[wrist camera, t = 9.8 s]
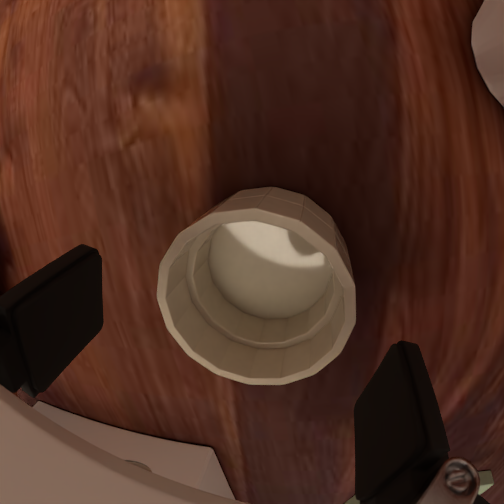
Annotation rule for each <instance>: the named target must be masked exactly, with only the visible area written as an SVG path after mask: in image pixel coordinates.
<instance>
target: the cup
mask: <svg viewBox="0 0 504 504" xmlns="http://www.w3.org/2000/svg"><path fill="white" fill-rule="evenodd" d="M471 47H472V51H473V54H474V58H475V63H476V67H477V69H478V71H479V73H480V75H481V77H482V79H483V80H484V82H485V84H486V86H487V88H488V90H489V91H490V93H491V94H492V95H493V96H494V97H495V98H496V99H497V100H498V102H499V103H500V104H501V105H502V106H503V107H504V0H484V2H483V4H482V6H481V8H480V9H479V11H478V13H477V15H476V17H475V19H474V20H473V22H472V39H471Z"/></svg>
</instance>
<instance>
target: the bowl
mask: <svg viewBox="0 0 504 504" xmlns="http://www.w3.org/2000/svg"><path fill="white" fill-rule="evenodd" d="M157 300H158V303H159V306H160V309H161V312H162V315H163V319H164V322H165V325H166V327H167V329H168V331H169V332H170V333H171V335H172V336H173V337H174V338H175V340H176V341H177V342H178V344H179V345H180V346H181V347H182V349H183V350H184V351H185V352H186V354H187V355H188V356H190V357H191V358H193V359H194V360H195V361H197V362H198V363H200V364H201V365H203V366H204V367H206V368H207V369H209V370H210V371H212V372H213V373H215V374H217V375H220V376H223V377H226V378H229V379H232V380H235V381H238V382H242V383H245V384H249V385H284V384H288V383H291V382H294V381H297V380H300V379H303V378H306V377H309V376H312V375H314V374H316V373H317V372H319V371H320V370H321V369H322V368H324V367H325V366H326V365H327V364H329V363H330V362H331V361H332V360H333V359H335V358H336V357H337V356H338V355H339V354H340V353H341V352H342V350H343V348H344V346H345V344H346V342H347V340H348V338H349V336H350V334H351V332H352V330H353V328H354V325H355V322H356V288H355V282H354V277H353V273H352V268H351V263H350V259H349V254H348V250H347V245H346V243H345V241H344V239H343V237H342V235H341V233H340V231H339V229H338V227H337V225H336V223H335V222H334V220H333V218H332V217H331V215H329V214H328V213H327V212H326V211H324V210H323V209H322V208H321V207H319V206H318V205H317V204H316V203H314V202H313V201H312V200H311V199H309V198H308V197H307V196H304V195H302V194H299V193H295V192H292V191H288V190H285V189H281V188H277V187H263V188H255V189H248V190H242V191H238V192H237V193H235V194H233V195H232V196H230V197H228V198H227V199H225V200H224V201H222V202H220V203H219V204H217V205H215V206H214V207H213V208H211V209H210V210H209V211H207V212H206V213H205V214H203V215H202V216H201V217H199V218H198V219H197V220H195V221H194V222H193V223H191V224H190V225H189V226H188V227H186V228H185V229H184V230H182V231H181V232H180V233H179V234H178V235H177V236H176V238H175V239H174V241H173V243H172V244H171V246H170V247H169V249H168V251H167V252H166V254H165V256H164V257H163V259H162V261H161V262H160V266H159V276H158V287H157Z"/></svg>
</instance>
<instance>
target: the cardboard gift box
mask: <svg viewBox="0 0 504 504" xmlns="http://www.w3.org/2000/svg"><path fill="white" fill-rule="evenodd" d="M32 408H34V409H35V410H37V411H38V412H39V413H41V414H42V415H44V416H46V417H47V418H49V419H50V420H52V421H53V422H55V423H56V424H58V425H60V426H61V427H63V428H65V429H66V430H68V431H70V432H71V433H73V434H75V435H77V436H78V437H80V438H82V439H84V440H86V441H87V442H89V443H91V444H93V445H95V446H97V447H99V448H100V449H102V450H104V451H106V452H108V453H110V454H112V455H114V456H116V457H119V458H121V459H123V460H125V461H127V462H129V463H131V464H134V465H136V466H138V467H140V468H143V469H145V470H148V471H150V472H152V473H155V474H157V475H160V476H162V477H165V478H168V479H170V480H173V481H176V482H178V483H181V484H184V485H187V486H190V487H193V488H196V489H199V490H202V491H205V492H209V493H212V494H215V495H219V496H222V497H226V498H230V499H233V500H235V498H234V496H233V493H232V491H231V489H230V487H229V485H228V482H227V480H226V478H225V476H224V473H223V471H222V469H221V467H220V464H219V462H218V460H217V457H216V455H215V452H214V450H213V449H212V448H211V447H205V446H199V445H193V444H187V443H181V442H176V441H171V440H166V439H161V438H157V437H152V436H148V435H143V434H139V433H135V432H131V431H128V430H124V429H120V428H117V427H113V426H110V425H106V424H103V423H100V422H96V421H93V420H90V419H87V418H84V417H81V416H78V415H75V414H72V413H70V412H67V411H64V410H61V409H59V408H56V407H53V406H51V405H48V404H46V403H43V402H41V401H38V402H37V403H36V404H35V405H34V406H33V407H32Z"/></svg>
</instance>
